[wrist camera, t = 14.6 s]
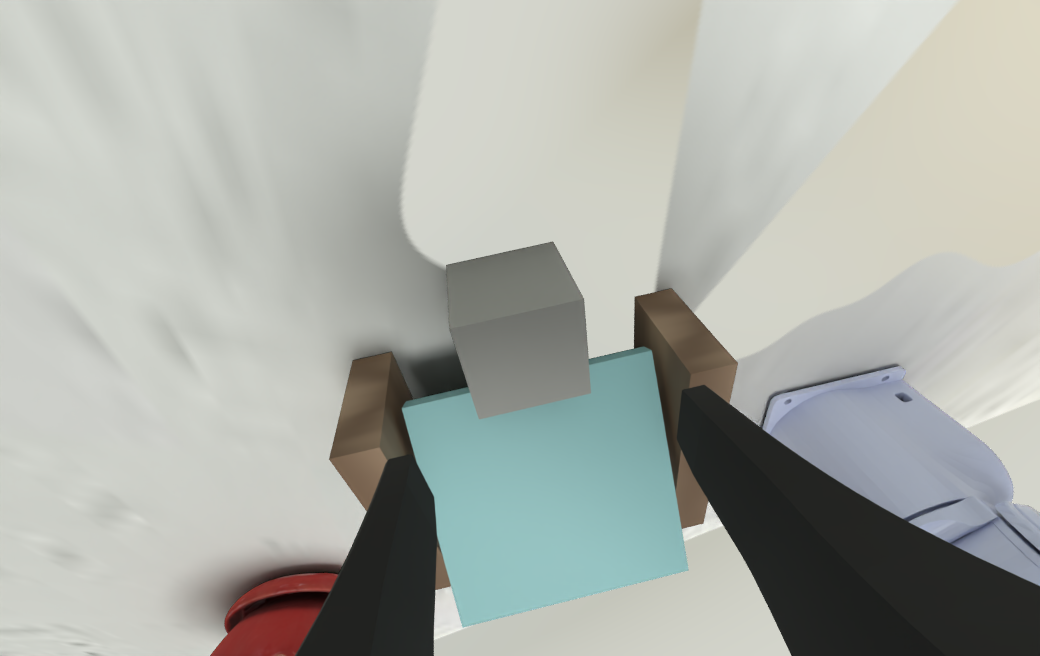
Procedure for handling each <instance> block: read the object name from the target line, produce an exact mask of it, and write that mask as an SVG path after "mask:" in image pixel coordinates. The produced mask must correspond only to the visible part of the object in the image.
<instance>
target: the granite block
mask: <svg viewBox="0 0 1040 656" xmlns="http://www.w3.org/2000/svg"><path fill="white" fill-rule="evenodd" d="M446 270H447V290H448V310H449V329H450V332H451V335H452V339H453V342H454V345H455V348H456V351H457V354H458V357H459V360H460V363H461V366H462V369H463V372H464V375H465V378H466V381H467V384H468V388H469V391H470V394H471V397H472V400H473V403H474V406H475V409H476V412H477V415H478V418H479V419H484V418H488V417H492V416H496V415H501V414H505V413H509V412H514V411H518V410H522V409H526V408H531V407H535V406H539V405H543V404H548V403H552V402H556V401H561V400H565V399H569V398H573V397H578V396H582V395H586V394H590V393H591V385H590V372H589V359H588V346H587V332H586V319H585V307H584V298H583V296H582V294H581V292H580V291H579V289H578V287H577V285H576V283H575V281H574V279H573V278H572V276H571V274H570V272H569V270H568V268H567V267H566V265H565V263H564V261H563V259H562V257H561V255H560V253H559V252H558V250H557V248H556V246H555V244H554V242H549V243H544V244H540V245H535V246H531V247H526V248H521V249H517V250H512V251H508V252H503V253H498V254H494V255H490V256H485V257H480V258H476V259H471V260H467V261H462V262H457V263H453V264H448V265H446Z"/></svg>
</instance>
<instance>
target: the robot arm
mask: <svg viewBox="0 0 1040 656" xmlns="http://www.w3.org/2000/svg"><path fill="white" fill-rule="evenodd" d="M905 374H906V370H905V369H904V368H902V367H901V366H898V367H893V368H889V369H885V370H880V371H876V372H872V373H868V374H864V375H859V376H855V377H851V378H847V379H843V380H838V381H834V382H830V383H826V384H822V385H818V386H813V387H809V388H805V389H801V390H797V391H792V392H788V393H784V394H780V395H777V396H775V397H773V398H772V399H771V401H770V405H769V408H768V411H767V415H766V418H765V421H764V424H763V428H760V427H759V426H758V425H756V424H755V423H754V422H752V421H751V420H750V419H748V418H747V417H746V416H745V415H743V414H742V413H741V412H739V411H738V410H737V409H735V408H734V407H733V406H732V405H730V404H729V403H728V402H726V401H725V400H724V399H723V398H721V397H720V396H719V395H717V394H716V393H715V392H714V391H712V390H711V389H710V388H708V387H707V386H706V385H701V386H696V387H692V388H688V389H684V390H682V394H681V403H680V412H679V421H678V430H677V441H678V443H679V446H680V448H681V450H682V452H683V455H684V457H685V459H686V461H687V463H688V465H689V467H690V470H691V472H692V474H693V476H694V477H695V479H696V481H697V482H698V484H699V486H700V487H701V489H702V491H703V492H704V494H705V496H706V497H707V499H708V501H709V502H710V504H711V506H712V507H713V509H714V511H715V512H716V514H717V516H718V517H719V519H720V520H721V522H722V524H723V525H724V527H725V529H726V530H727V532H728V534H729V535H730V537H731V539H732V540H733V542H734V543H735V545H736V547H737V548H738V550H739V552H740V553H741V555H742V557H743V559H744V560H745V562H746V564H747V566H748V567H749V569H750V571H751V573H752V575H753V577H754V579H755V581H756V583H757V585H758V587H759V589H760V591H761V593H762V595H763V597H764V599H765V601H766V603H767V605H768V607H769V609H770V611H771V613H772V615H773V617H774V619H775V622H776V624H777V626H778V628H779V630H780V632H781V634H782V636H783V639H784V641H785V643H786V645H787V647H788V649H789V651H790V653H791V655H792V656H1040V512H1038V511H1037V510H1035V509H1034V508H1032V507H1030V506H1027V505H1021V504H1013V503H1012V499H1013V484H1012V481H1011V478H1010V476H1009V473H1008V471H1007V470H1006V468H1005V466H1004V465H1003V463H1002V462H1001V460H1000V459H999V458H998V457H997V455H996V454H995V453H994V452H993V451H992V450H991V449H990V448H989V447H988V446H987V445H986V444H985V443H984V442H982V441H981V440H980V439H979V438H978V437H976V436H975V435H974V434H972V433H971V432H970V431H968V430H967V429H966V428H964V427H963V426H962V425H961V424H959V423H958V422H957V421H955V420H954V419H953V418H951V417H950V416H949V415H948V414H946V413H945V412H944V411H942V410H941V409H940V408H938V407H937V406H936V405H935V404H933V403H932V402H931V401H929V400H928V399H927V398H925V397H924V396H923V395H922V394H920V393H919V392H918V391H916V390H915V389H914V388H912V387H911V386H910V385H909V384H907V383H906V382H905V381H903V380H902V379H903V377H904V376H905ZM436 558H437V527H436V513H435V500H434V496H433V494H432V492H431V490H430V488H429V486H428V484H427V482H426V480H425V478H424V476H423V474H422V472H421V470H420V468H419V466H418V464H417V462H416V461H415V459H414V457H413V455H412V454H408V455H404V456H400V457H396V458H391V459H388V461H387V462H386V464H385V466H384V469H383V472H382V475H381V477H380V480H379V482H378V485H377V488H376V490H375V493H374V495H373V498H372V500H371V503H370V505H369V508H368V510H367V513H366V515H365V517H364V520H363V522H362V524H361V527H360V529H359V531H358V533H357V536H356V538H355V540H354V542H353V545H352V547H351V549H350V551H349V554H348V556H347V558H346V560H345V562H344V564H343V566H342V568H341V570H340V572H339V574H338V576H337V578H336V580H335V582H334V584H333V586H332V588H331V590H330V592H329V594H328V596H327V598H326V600H325V602H324V604H323V606H322V608H321V610H320V612H319V613H318V615H317V617H316V619H315V621H314V623H313V624H312V626H311V628H310V630H309V631H308V633H307V635H306V637H305V639H304V640H303V642H302V644H301V646H300V647H299V649H298V651H297V652H296V654H295V656H434V653H433V652H434V610H435V585H436Z"/></svg>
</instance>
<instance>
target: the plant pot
mask: <svg viewBox="0 0 1040 656" xmlns="http://www.w3.org/2000/svg"><path fill="white" fill-rule="evenodd" d="M337 576H338V574H332V573H306V574H296V575H289V576H284V577H280V578H276V579H273V580H270V581H267V582H265V583H263V584H260V585H259V586H257V587H255V588H253V589H251V590H250V591H248V592H247V593H246V594H244V595H243V596H242V597H240V598H239V599H238V600H237V601H236V602H235V603H234V604H233V606H232V607H231V608H230V610H229V611H228V613H227V615H226V618H225V629H226V632H227V633H228V634H227V636H226V637H225V638H224V639H223V640H222V641H221V643H220V644H219V645H218V646H217V647H216V649H215V650H214V651H213V653H212V654H211V655H210V656H295V654H296V652H297V651H298V649H299V647H300V646H301V644H302V642H303V640H304V639H305V637H306V635H307V633H308V631H309V630H310V628H311V626H312V624H313V623H314V621H315V619H316V617H317V615H318V613H319V612H320V610H321V608H322V606H323V604H324V602H325V600H326V598H327V596H328V594H329V592H330V590H331V588H332V586H333V584H334V582H335V580H336V578H337Z"/></svg>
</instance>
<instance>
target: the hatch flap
mask: <svg viewBox="0 0 1040 656" xmlns="http://www.w3.org/2000/svg"><path fill="white" fill-rule="evenodd" d="M589 372H590V385H591V393H590V394H586V395H582V396H578V397H573V398H569V399H565V400H561V401H556V402H552V403H548V404H543V405H539V406H535V407H531V408H526V409H522V410H518V411H514V412H509V413H505V414H501V415H496V416H492V417H488V418H484V419H479V418H478V415H477V412H476V409H475V406H474V403H473V400H472V397H471V394H470V391H469V388H468V387H466V388H462V389H457V390H453V391H449V392H444V393H440V394H436V395H431V396H427V397H423V398H418V399H414V400H410V401H406V402H405V404H404V405H403V407H402V412H403V415H404V419H405V422H406V426H407V430H408V433H409V437H410V440H411V444H412V447H413V451H414V455H415V458H416V462H417V464H418V466H419V468H420V470H421V472H422V474H423V476H424V478H425V480H426V482H427V484H428V486H429V488H430V490H431V492H432V494H433V496H434V500H435V513H436V527H437V537H438V541H439V544H440V548H441V551H442V555H443V559H444V562H445V566H446V569H447V573H448V577H449V580H450V584H451V587H452V591H453V595H454V598H455V602H456V605H457V609H458V612H459V616H460V620H461V623H462V627H467V626H471V625H475V624H479V623H482V622H486V621H490V620H494V619H498V618H502V617H506V616H510V615H514V614H518V613H522V612H526V611H530V610H534V609H537V608H542V607H546V606H550V605H554V604H558V603H562V602H565V601H569V600H573V599H577V598H581V597H585V596H589V595H593V594H597V593H601V592H605V591H609V590H613V589H617V588H621V587H625V586H628V585H633V584H637V583H641V582H645V581H649V580H653V579H656V578H660V577H664V576H668V575H672V574H676V573H680V572H683V571H688V564H687V558H686V552H685V546H684V540H683V534H682V528H681V522H680V516H679V510H678V504H677V498H676V492H675V486H674V480H673V474H672V468H671V462H670V456H669V450H668V444H667V438H666V432H665V426H664V420H663V414H662V408H661V402H660V396H659V390H658V384H657V378H656V372H655V366H654V360H653V354H652V350H650V349H648V348H646V347H645V346H643V347H639V348H635V349H631V350H626V351H622V352H617V353H613V354H609V355H604V356H600V357H596V358H591V359H589Z"/></svg>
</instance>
